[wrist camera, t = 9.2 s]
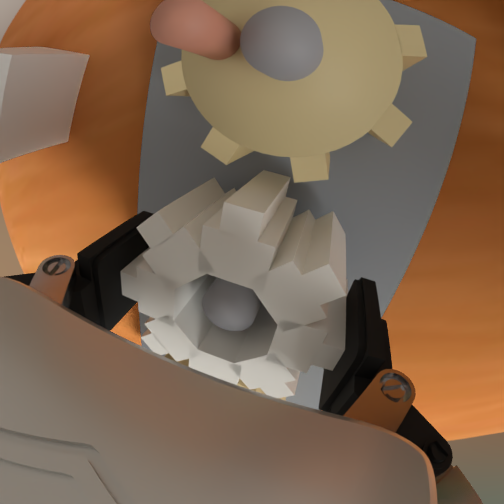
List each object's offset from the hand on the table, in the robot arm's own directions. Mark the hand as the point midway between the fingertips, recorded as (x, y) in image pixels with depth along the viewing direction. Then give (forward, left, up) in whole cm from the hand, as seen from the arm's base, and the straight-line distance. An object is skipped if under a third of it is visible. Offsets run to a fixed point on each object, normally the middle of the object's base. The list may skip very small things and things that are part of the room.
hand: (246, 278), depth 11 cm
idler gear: (0, 0, -1) cm, 1 cm away
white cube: (+17, -6, -5) cm, 18 cm away
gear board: (0, 0, -5) cm, 5 cm away
